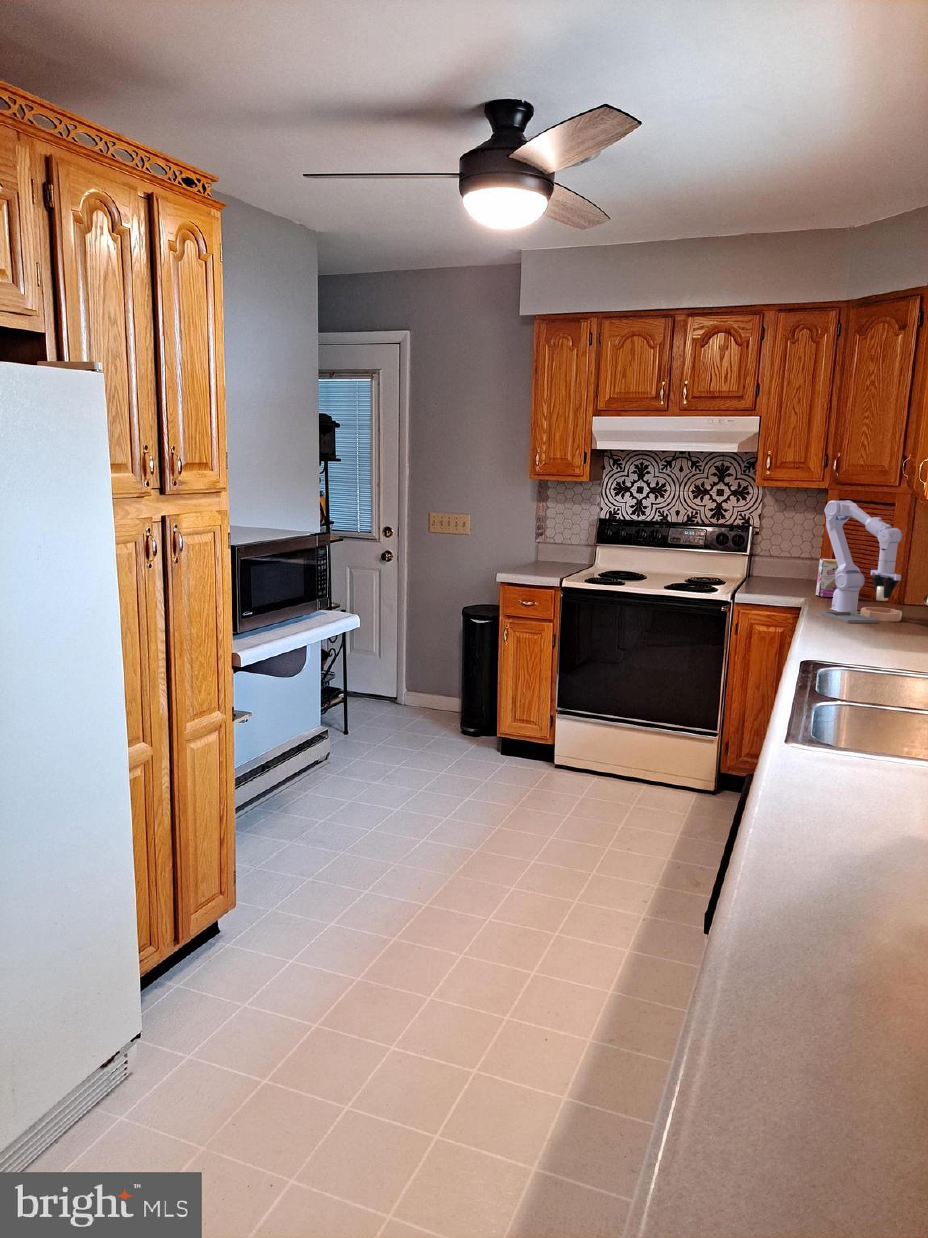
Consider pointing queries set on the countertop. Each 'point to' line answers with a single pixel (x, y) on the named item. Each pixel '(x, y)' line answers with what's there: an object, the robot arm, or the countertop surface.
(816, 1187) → the countertop surface
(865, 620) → the parts tray
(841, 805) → the countertop surface
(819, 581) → the candy bar box
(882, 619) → the terracotta bowl
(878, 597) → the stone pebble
